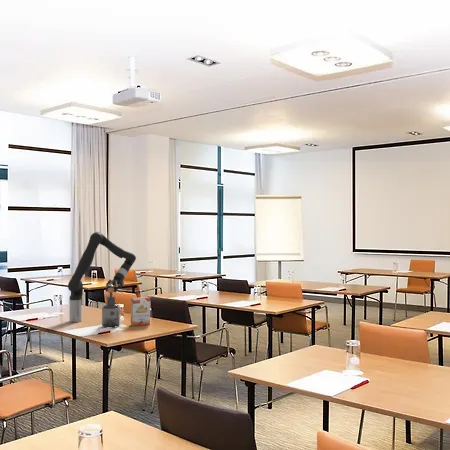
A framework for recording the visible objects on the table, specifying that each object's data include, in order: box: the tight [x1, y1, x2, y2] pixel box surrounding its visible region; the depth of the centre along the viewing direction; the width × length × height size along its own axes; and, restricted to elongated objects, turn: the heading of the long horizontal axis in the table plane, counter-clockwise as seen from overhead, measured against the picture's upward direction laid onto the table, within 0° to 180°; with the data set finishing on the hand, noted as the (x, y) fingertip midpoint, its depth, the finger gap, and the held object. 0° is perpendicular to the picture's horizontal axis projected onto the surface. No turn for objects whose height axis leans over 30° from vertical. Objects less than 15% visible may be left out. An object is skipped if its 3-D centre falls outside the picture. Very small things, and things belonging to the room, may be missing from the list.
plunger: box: [107, 287, 115, 297], centre depth 402 cm, size 4×4×12 cm
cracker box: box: [130, 296, 151, 327], centre depth 406 cm, size 14×6×21 cm, turn 117°
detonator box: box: [101, 295, 121, 328], centre depth 400 cm, size 18×13×22 cm
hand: (110, 291), depth 401 cm, fingers open, 8 cm apart
